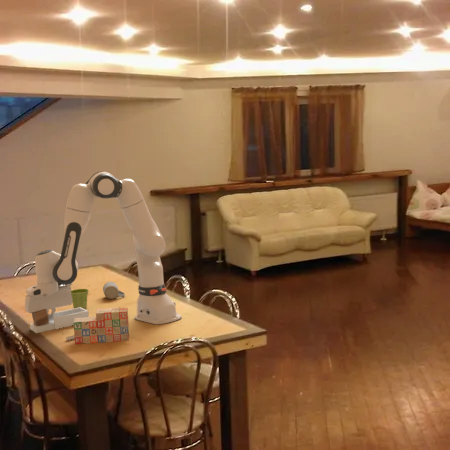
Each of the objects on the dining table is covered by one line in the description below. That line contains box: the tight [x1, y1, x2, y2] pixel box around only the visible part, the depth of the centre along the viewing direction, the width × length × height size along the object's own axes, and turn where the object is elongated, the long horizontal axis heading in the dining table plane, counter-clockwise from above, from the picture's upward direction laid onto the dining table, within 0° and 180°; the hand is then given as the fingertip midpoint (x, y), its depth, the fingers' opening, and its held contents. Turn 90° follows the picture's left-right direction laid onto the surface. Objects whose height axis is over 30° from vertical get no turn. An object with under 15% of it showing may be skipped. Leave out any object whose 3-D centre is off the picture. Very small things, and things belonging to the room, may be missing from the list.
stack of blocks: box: [73, 307, 130, 345], centre depth 255 cm, size 21×6×12 cm, turn 96°
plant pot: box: [71, 288, 90, 309], centre depth 305 cm, size 9×9×9 cm
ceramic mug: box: [102, 281, 126, 300], centre depth 323 cm, size 11×8×8 cm
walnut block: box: [31, 309, 49, 326], centre depth 273 cm, size 5×5×6 cm
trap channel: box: [29, 307, 90, 334], centre depth 278 cm, size 9×24×5 cm, turn 126°
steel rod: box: [65, 334, 75, 342], centre depth 261 cm, size 14×2×2 cm, turn 126°
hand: (50, 318), depth 276 cm, fingers closed
